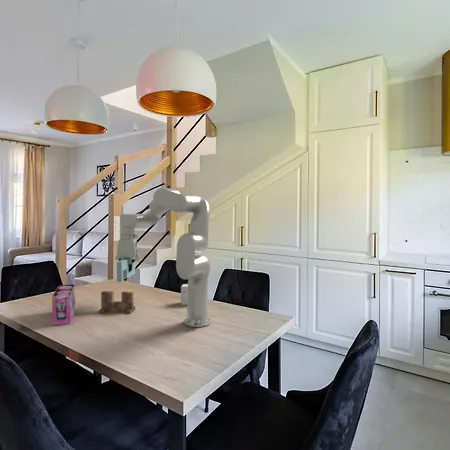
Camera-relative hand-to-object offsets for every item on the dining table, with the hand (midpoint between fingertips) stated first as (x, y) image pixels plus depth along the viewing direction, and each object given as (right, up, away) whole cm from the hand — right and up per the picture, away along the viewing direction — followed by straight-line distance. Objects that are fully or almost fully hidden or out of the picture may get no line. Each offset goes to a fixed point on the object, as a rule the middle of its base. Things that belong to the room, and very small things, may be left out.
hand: (127, 271), depth 173 cm
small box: (+32, -20, +8) cm, 39 cm away
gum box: (-26, -20, -16) cm, 37 cm away
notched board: (0, -3, -1) cm, 3 cm away
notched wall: (-3, -20, -6) cm, 21 cm away
